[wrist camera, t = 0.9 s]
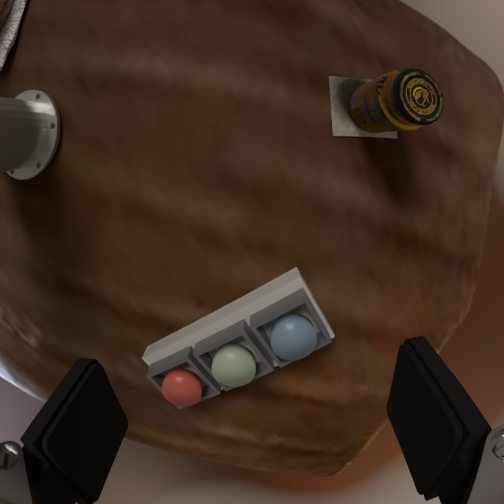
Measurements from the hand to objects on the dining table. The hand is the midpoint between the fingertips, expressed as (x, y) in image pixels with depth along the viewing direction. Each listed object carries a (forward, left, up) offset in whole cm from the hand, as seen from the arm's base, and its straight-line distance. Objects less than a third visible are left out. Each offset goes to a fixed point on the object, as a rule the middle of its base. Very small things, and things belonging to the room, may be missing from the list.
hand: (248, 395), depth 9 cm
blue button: (+5, -13, -23) cm, 27 cm away
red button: (-9, -21, -23) cm, 33 cm away
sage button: (-2, -17, -24) cm, 29 cm away
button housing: (-2, -17, -29) cm, 33 cm away
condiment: (+14, +13, -29) cm, 34 cm away
